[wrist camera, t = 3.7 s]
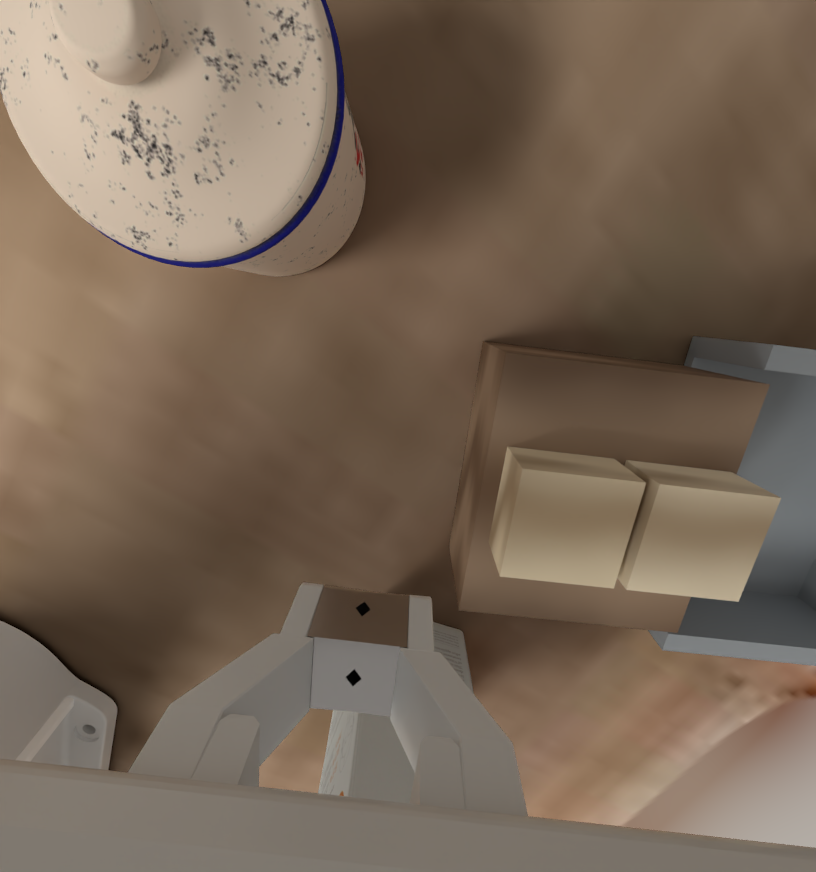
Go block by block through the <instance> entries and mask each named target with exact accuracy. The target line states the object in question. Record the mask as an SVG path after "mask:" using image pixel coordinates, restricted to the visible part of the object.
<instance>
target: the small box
mask: <svg viewBox="0 0 816 872" xmlns="http://www.w3.org/2000/svg"><path fill="white" fill-rule="evenodd" d="M433 637H434V652H440V653H442V655H443V656H444V657H445V658H446V660H447V661H448V662H449V664H450V665H451V666H452V667H453V669H454V670H455V671H456V672H457V674H458V675H459V676H460V677H461V679H462V680H463V681H464V682H465V684H466V685H467V686H468V688H469V689H470V690H471V691H472V693H473V686H472V681H471V674H470V669H469V663H468V657H467V651H466V645H465V639H464V634H463V632H462V631H461V630H460V629H456V628H452V627H449V626H446V625H442V624H439V623H436V622H433ZM473 694H474V693H473ZM414 776H415V772H414V770H413V768H412V766H411V764H410V761H409V759H408V757H407V755H406V753H405V751H404V748H403V746H402V744H401V742H400V740H399V738H398V735H397V733H396V731H395V729H394V727H393V725H392V722H391V720H390V717H386V716H379V715H373V714H366V713H359V712H352V711H341V710H333V714H332V720H331V725H330V731H329V737H328V743H327V748H326V754H325V760H324V765H323V770H322V776H321V781H320V786H319V791H318V793H320V794H329V795H338V796H347V797H357V798H366V799H375V800H384V801H393V802H402V803H410V798H411V793H412V787H413V782H414Z"/></svg>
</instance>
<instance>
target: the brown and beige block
mask: <svg viewBox="0 0 816 872" xmlns="http://www.w3.org/2000/svg"><path fill="white" fill-rule="evenodd" d="M769 386H770V384H766V383H761V382H757V381H752V380H747V379H743V378H738V377H734V376H729V375H725V374H720V373H715V372H711V371H706V370H702V369H697V368H693V367H688V366H683V365H675V364H667V363H658V362H650V361H642V360H634V359H625V358H617V357H609V356H601V355H592V354H584V353H576V352H568V351H559V350H551V349H543V348H535V347H526V346H518V345H510V344H502V343H493V342H485V341H483V344H482V350H481V356H480V362H479V368H478V374H477V380H476V386H475V392H474V398H473V404H472V411H471V417H470V423H469V429H468V435H467V441H466V447H465V453H464V459H463V465H462V471H461V477H460V483H459V489H458V495H457V501H456V507H455V513H454V519H453V525H452V531H451V537H450V543H449V551H450V557H451V563H452V570H453V576H454V582H455V589H456V595H457V601H458V608H459V611H469V612H479V613H489V614H498V615H508V616H518V617H527V618H537V619H547V620H556V621H566V622H576V623H585V624H595V625H605V626H614V627H624V628H634V629H643V630H653V631H663V632H673V633H678V630H679V628H680V625H681V622H682V620H683V617H684V614H685V612H686V609H687V606H688V604H689V601H690V598H691V597H689V596H679V595H670V594H660V593H651V592H641V591H632V590H626V589H625V587H624V586H623V585H622V583H621V582H620V581H619V580H618V578H617V580H616V583H615V586H614V589H613V588H603V587H594V586H585V585H575V584H566V583H556V582H547V581H537V580H528V579H518V578H509V577H500V576H499V573H498V569H497V566H496V563H495V560H494V557H493V554H492V551H491V548H490V545H489V537H490V532H491V527H492V522H493V517H494V512H495V507H496V501H497V496H498V491H499V486H500V481H501V476H502V471H503V466H504V461H505V456H506V451H507V446H508V447H517V448H526V449H534V450H543V451H552V452H561V453H569V454H578V455H587V456H595V457H604V458H613V459H615V460H617V461H618V462H619V463H621V464H622V465H623V466H625V462H626V460H630V461H639V462H648V463H657V464H665V465H674V466H683V467H692V468H700V469H709V470H718V471H727V472H732V473H734V474H736V475H737V472H738V469H739V467H740V464H741V461H742V459H743V456H744V453H745V451H746V448H747V445H748V443H749V440H750V437H751V434H752V432H753V429H754V426H755V424H756V421H757V418H758V416H759V413H760V410H761V408H762V405H763V402H764V400H765V397H766V394H767V392H768V389H769Z"/></svg>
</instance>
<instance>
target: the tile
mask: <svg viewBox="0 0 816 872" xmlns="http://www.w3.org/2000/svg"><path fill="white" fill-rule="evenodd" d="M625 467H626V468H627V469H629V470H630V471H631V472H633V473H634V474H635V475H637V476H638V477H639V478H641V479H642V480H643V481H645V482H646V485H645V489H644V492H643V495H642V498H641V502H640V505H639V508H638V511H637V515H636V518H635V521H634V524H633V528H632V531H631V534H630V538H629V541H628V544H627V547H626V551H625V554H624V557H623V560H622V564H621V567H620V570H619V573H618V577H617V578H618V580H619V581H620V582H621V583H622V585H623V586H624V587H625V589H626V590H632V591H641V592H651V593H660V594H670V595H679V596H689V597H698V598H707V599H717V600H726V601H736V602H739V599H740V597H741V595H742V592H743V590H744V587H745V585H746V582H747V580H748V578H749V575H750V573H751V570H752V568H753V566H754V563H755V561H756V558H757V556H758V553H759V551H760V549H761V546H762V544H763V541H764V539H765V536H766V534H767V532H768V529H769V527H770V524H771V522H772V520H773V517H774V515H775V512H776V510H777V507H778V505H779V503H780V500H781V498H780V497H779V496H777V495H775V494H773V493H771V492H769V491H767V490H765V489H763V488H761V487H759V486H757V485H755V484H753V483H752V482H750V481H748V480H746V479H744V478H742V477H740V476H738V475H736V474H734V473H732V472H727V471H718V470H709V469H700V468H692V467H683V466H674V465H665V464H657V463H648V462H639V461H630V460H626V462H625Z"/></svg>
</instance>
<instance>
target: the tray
mask: <svg viewBox="0 0 816 872" xmlns="http://www.w3.org/2000/svg"><path fill="white" fill-rule="evenodd" d="M684 366H688V367H693V368H697V369H702V370H706V371H711V372H715V373H720V374H725V375H729V376H734V377H738V378H743V379H747V380H752V381H757V382H761V383H766V384H770V386H769V389H768V392H767V394H766V397H765V400H764V402H763V405H762V408H761V410H760V413H759V416H758V418H757V421H756V424H755V426H754V429H753V432H752V434H751V437H750V440H749V443H748V445H747V448H746V451H745V453H744V456H743V459H742V461H741V464H740V467H739V469H738V472H737V475H738V476H740V477H742V478H744V479H746V480H748V481H750V482H752V483H753V484H755V485H757V486H759V487H761V488H763V489H765V490H767V491H769V492H771V493H773V494H775V495H777V496H779V497H780V498H781V500H780V503H779V505H778V507H777V510H776V512H775V515H774V517H773V520H772V522H771V524H770V527H769V529H768V532H767V534H766V536H765V539H764V541H763V544H762V546H761V549H760V551H759V553H758V556H757V558H756V561H755V563H754V566H753V568H752V570H751V573H750V575H749V578H748V580H747V582H746V585H745V587H744V590H743V592H742V595H741V597H740V599H739V602H736V601H726V600H717V599H707V598H698V597H691V598H690V601H689V604H688V606H687V609H686V612H685V614H684V617H683V620H682V622H681V625H680V628H679V630H678V633H673V632H663V631H653V630H648V631H649V633H650V634H651V635H652V637H653V638H654V639H655V641H656V642H657V644H658V645H659V646H660V648H661V649H662V650H666V651H676V652H686V653H696V654H705V655H715V656H725V657H735V658H745V659H754V660H764V661H774V662H784V663H794V664H803V665H813V666H816V350H813V349H805V348H797V347H789V346H781V345H772V344H763V343H754V342H744V341H735V340H725V339H716V338H707V337H697V336H693V337H692V341H691V344H690V347H689V350H688V354H687V357H686V360H685V363H684Z"/></svg>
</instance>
